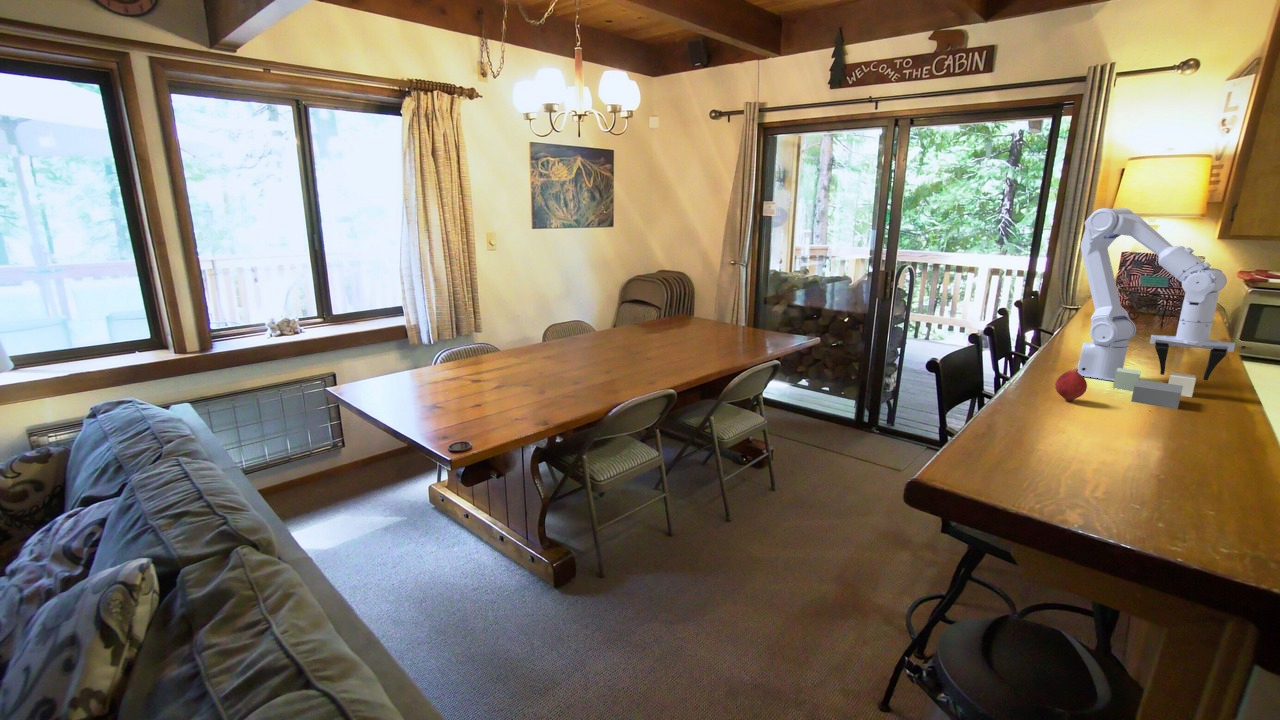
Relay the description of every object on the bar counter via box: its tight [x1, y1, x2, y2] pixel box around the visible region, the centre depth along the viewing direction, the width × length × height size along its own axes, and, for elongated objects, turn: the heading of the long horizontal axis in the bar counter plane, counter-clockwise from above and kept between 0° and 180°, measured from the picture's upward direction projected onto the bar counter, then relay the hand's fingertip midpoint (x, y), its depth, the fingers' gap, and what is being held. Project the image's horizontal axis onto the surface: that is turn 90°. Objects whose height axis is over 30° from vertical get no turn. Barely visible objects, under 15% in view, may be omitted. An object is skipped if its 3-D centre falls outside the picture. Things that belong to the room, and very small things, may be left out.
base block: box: [1130, 378, 1183, 410], centre depth 134 cm, size 8×8×4 cm
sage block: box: [1112, 367, 1142, 392], centre depth 144 cm, size 4×4×4 cm
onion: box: [1054, 367, 1088, 402], centre depth 134 cm, size 6×6×8 cm
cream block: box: [1167, 372, 1197, 398], centre depth 140 cm, size 4×4×4 cm
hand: (1183, 376), depth 139 cm, fingers open, 7 cm apart
